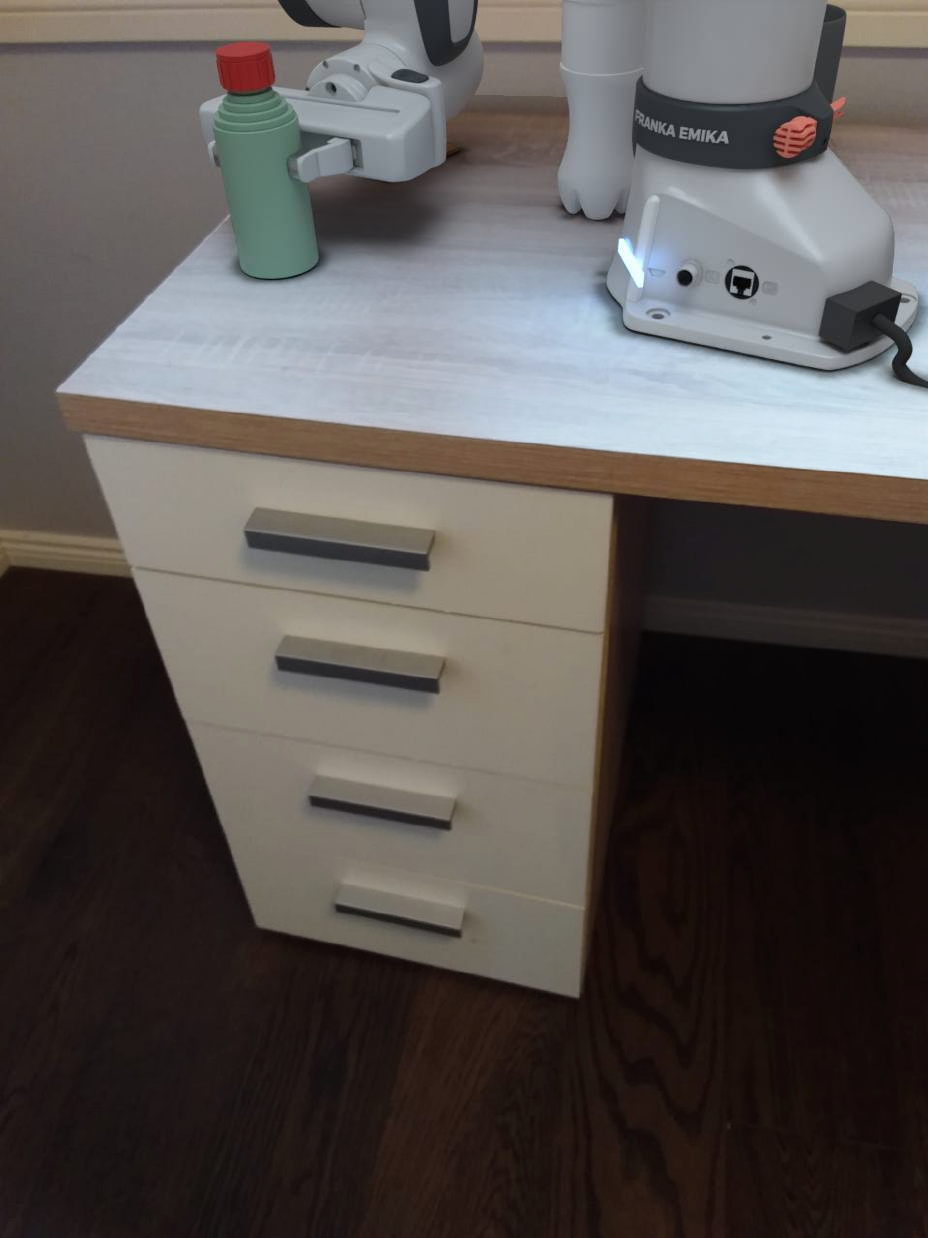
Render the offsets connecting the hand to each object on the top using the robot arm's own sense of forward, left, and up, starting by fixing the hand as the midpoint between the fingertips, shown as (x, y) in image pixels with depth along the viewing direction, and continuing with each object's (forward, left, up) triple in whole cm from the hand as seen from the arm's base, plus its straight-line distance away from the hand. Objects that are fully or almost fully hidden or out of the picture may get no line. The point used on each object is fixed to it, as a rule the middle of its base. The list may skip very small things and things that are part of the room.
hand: (255, 163), depth 77 cm
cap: (0, -1, +7) cm, 7 cm away
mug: (-19, -45, -8) cm, 49 cm away
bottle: (0, -1, -8) cm, 8 cm away
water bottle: (-15, -25, -8) cm, 30 cm away
